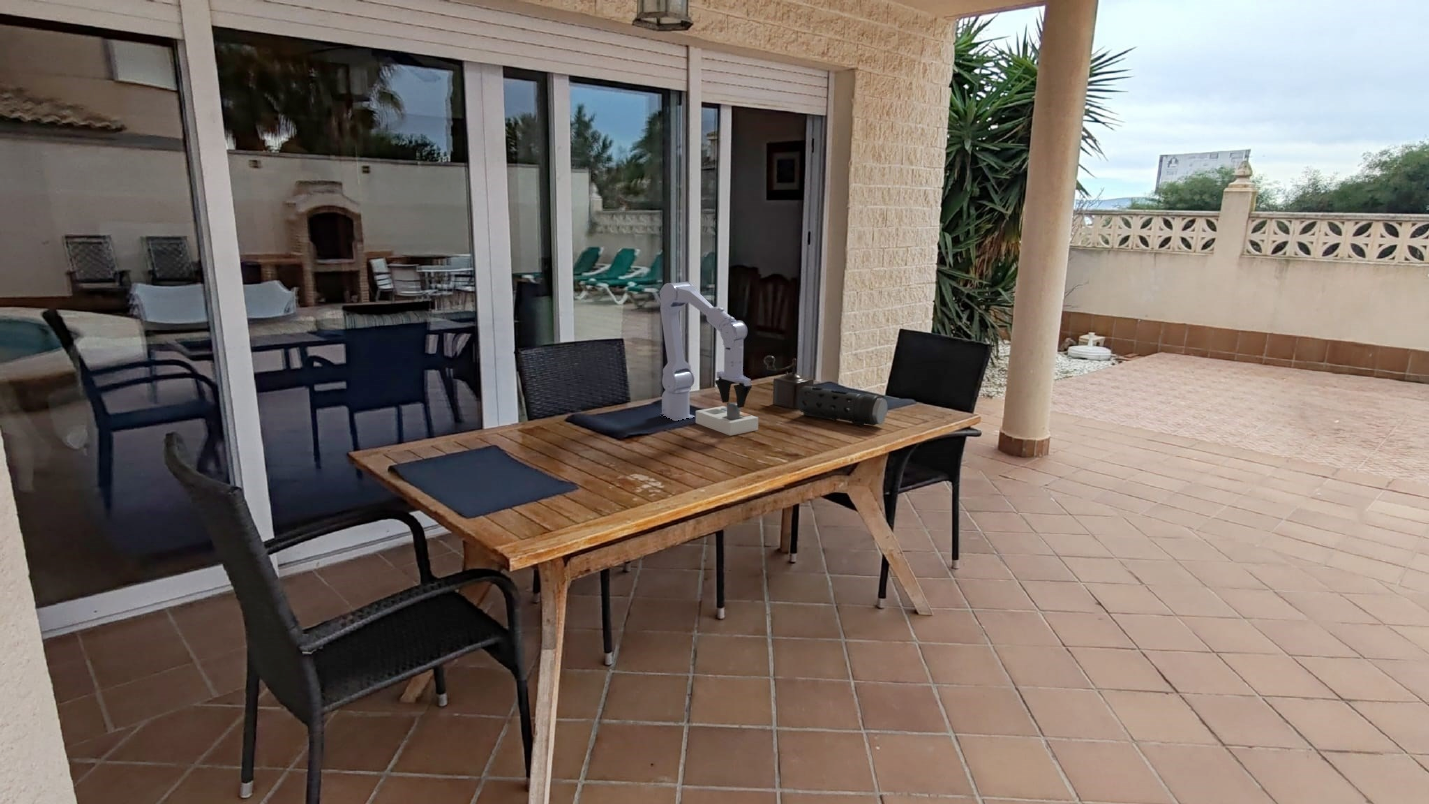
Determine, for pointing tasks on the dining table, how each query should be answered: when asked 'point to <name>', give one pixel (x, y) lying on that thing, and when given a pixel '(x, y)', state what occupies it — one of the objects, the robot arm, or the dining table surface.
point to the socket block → (726, 421)
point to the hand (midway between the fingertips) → (732, 404)
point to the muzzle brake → (842, 405)
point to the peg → (733, 411)
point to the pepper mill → (787, 385)
